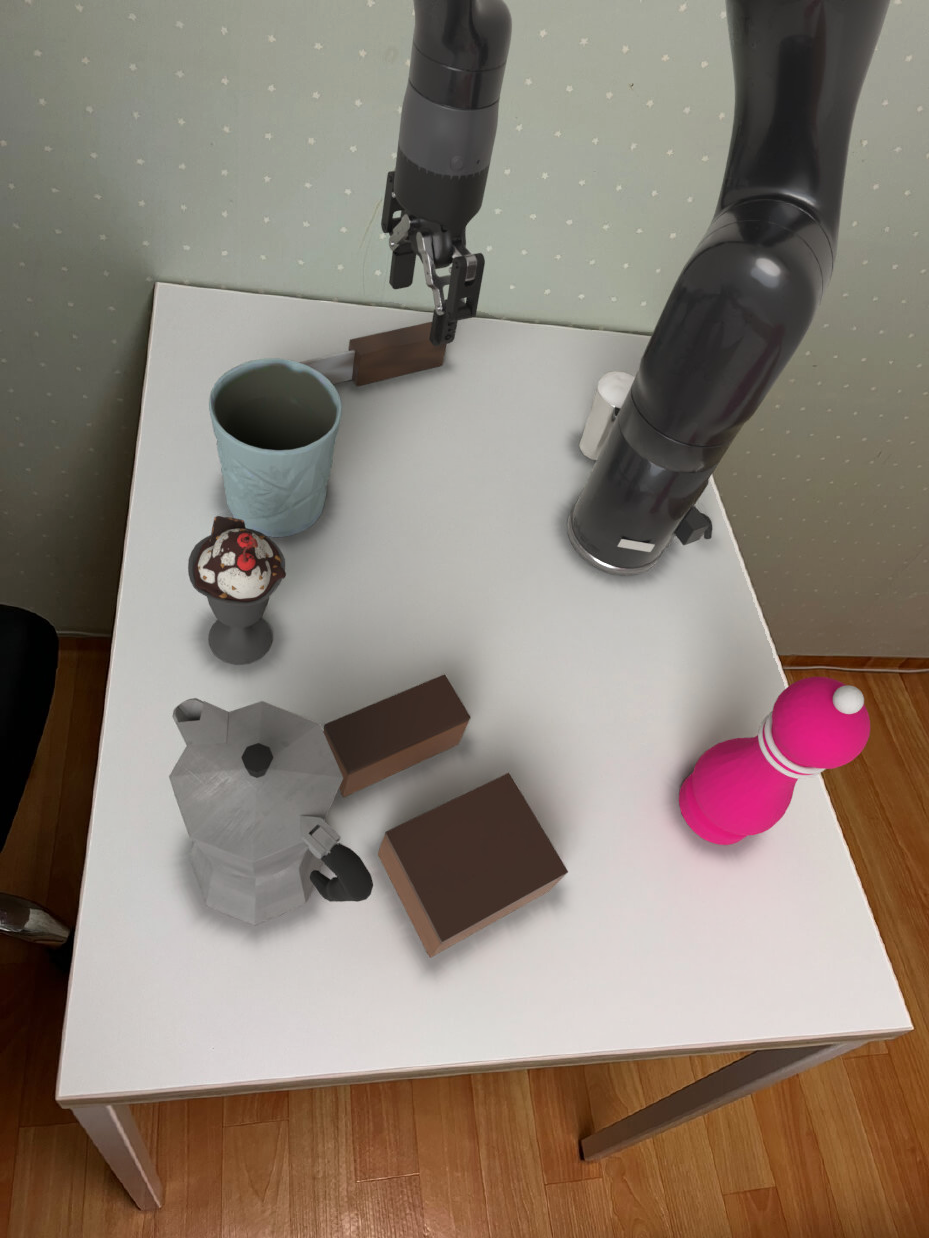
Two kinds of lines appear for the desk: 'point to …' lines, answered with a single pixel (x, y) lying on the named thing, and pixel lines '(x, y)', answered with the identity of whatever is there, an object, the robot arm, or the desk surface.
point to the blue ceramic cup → (275, 442)
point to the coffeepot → (261, 810)
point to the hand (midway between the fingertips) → (419, 313)
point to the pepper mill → (774, 760)
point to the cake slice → (396, 733)
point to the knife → (382, 356)
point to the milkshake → (604, 411)
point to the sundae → (237, 587)
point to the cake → (469, 863)
